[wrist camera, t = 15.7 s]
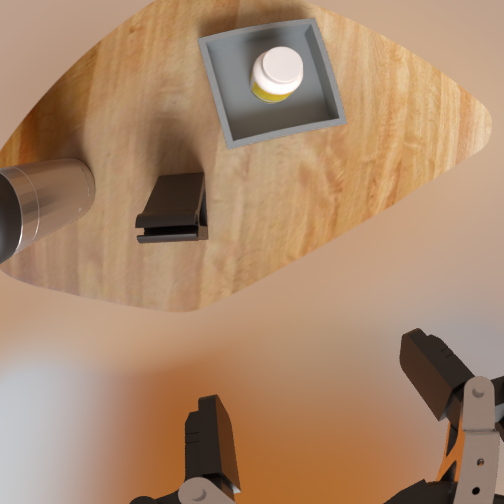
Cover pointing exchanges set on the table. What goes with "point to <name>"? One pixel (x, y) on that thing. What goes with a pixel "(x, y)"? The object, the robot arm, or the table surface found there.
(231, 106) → the bin
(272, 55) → the supplement bottle
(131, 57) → the table surface
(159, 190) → the phone stand
